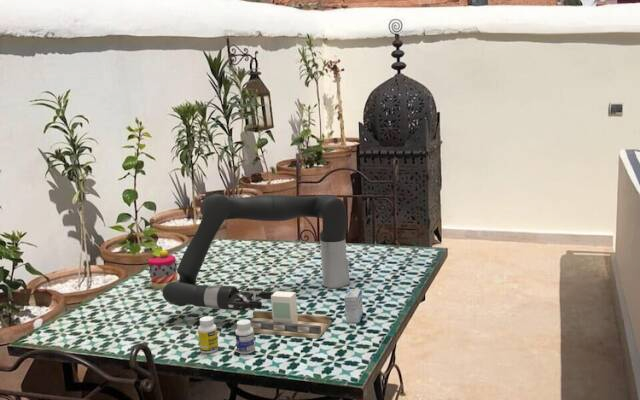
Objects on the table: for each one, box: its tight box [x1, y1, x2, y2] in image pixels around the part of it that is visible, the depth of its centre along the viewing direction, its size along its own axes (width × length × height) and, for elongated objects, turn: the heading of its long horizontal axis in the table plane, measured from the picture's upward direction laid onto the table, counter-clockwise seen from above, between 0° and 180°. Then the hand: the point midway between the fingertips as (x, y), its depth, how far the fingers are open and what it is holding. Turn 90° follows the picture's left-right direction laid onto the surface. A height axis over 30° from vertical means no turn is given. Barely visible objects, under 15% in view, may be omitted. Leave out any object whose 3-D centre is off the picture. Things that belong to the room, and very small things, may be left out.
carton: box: [270, 290, 298, 324], centre depth 210 cm, size 4×6×10 cm
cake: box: [147, 245, 179, 290], centre depth 260 cm, size 10×11×15 cm
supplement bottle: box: [197, 315, 219, 354], centre depth 197 cm, size 5×5×10 cm
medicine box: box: [344, 288, 364, 324], centre depth 214 cm, size 8×4×9 cm, turn 168°
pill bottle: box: [235, 318, 256, 355], centre depth 195 cm, size 5×5×9 cm
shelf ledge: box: [249, 310, 332, 339], centre depth 211 cm, size 26×12×3 cm, turn 70°
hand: (267, 300), depth 211 cm, fingers open, 8 cm apart
